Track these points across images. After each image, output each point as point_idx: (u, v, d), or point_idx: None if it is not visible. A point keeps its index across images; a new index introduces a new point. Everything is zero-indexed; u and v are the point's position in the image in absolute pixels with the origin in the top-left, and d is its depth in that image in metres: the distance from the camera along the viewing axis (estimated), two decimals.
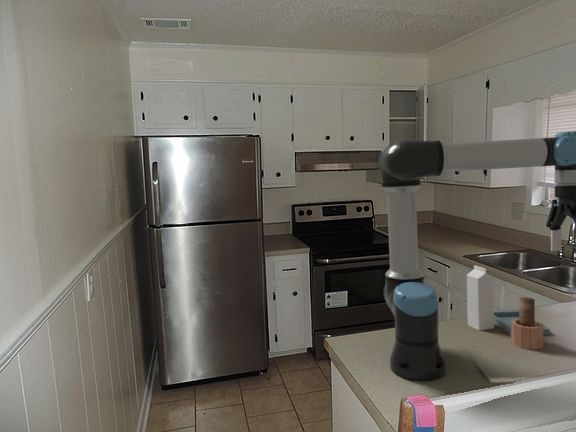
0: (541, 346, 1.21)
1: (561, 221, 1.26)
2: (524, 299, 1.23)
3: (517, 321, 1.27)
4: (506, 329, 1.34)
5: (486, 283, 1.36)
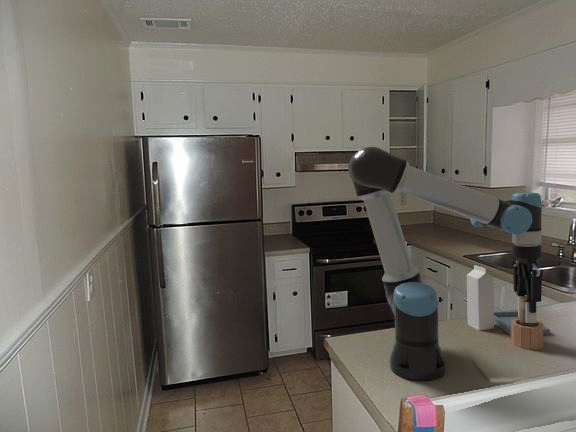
0: (541, 346, 1.21)
1: (525, 284, 1.25)
2: (524, 299, 1.23)
3: (517, 321, 1.27)
4: (506, 329, 1.34)
5: (486, 283, 1.36)
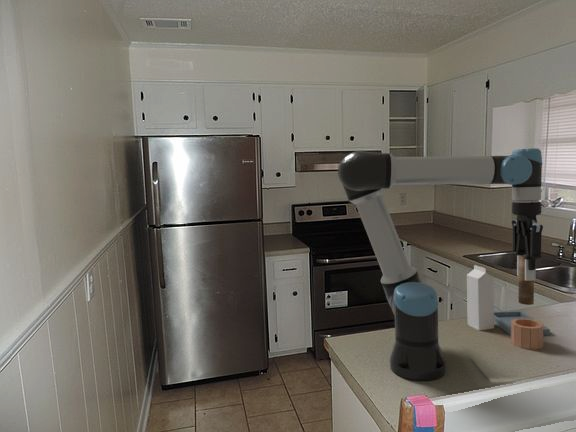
0: (541, 346, 1.21)
1: (524, 242, 1.23)
2: (523, 257, 1.22)
3: (517, 321, 1.27)
4: (506, 329, 1.34)
5: (486, 283, 1.36)
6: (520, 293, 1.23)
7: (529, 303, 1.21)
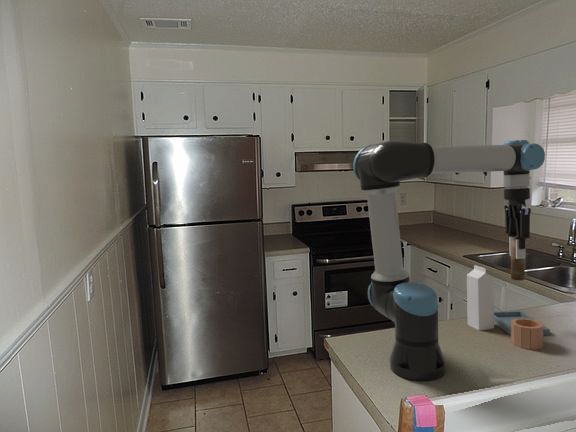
0: (541, 346, 1.21)
1: (516, 225, 1.37)
2: None
3: (517, 321, 1.27)
4: (506, 329, 1.34)
5: (486, 283, 1.36)
6: (512, 270, 1.36)
7: (520, 279, 1.35)
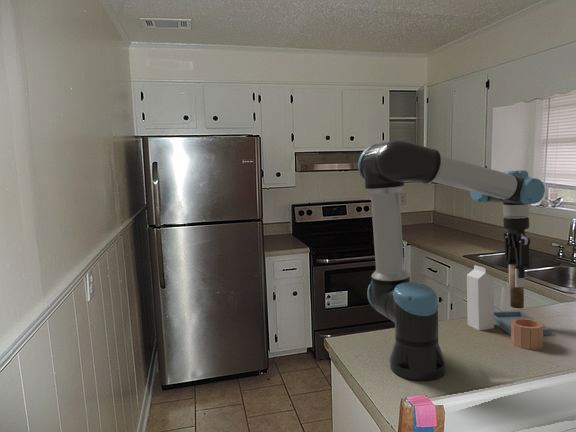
0: (541, 346, 1.21)
1: (515, 253, 1.39)
2: (514, 266, 1.37)
3: (517, 321, 1.27)
4: (506, 329, 1.34)
5: (486, 283, 1.36)
6: (512, 298, 1.38)
7: (520, 307, 1.36)
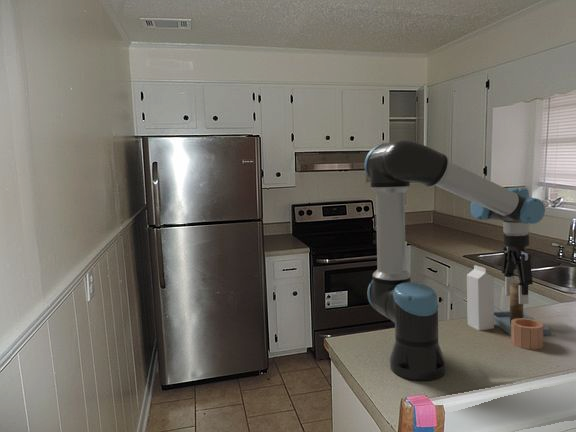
0: (541, 346, 1.21)
1: (512, 267, 1.41)
2: (514, 284, 1.38)
3: (517, 321, 1.27)
4: (506, 329, 1.34)
5: (486, 283, 1.36)
6: (511, 316, 1.38)
7: None
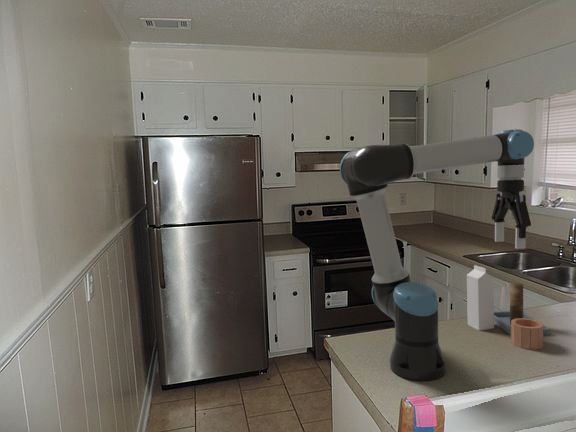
0: (541, 346, 1.21)
1: (504, 214, 1.35)
2: (514, 284, 1.38)
3: (517, 321, 1.27)
4: (506, 329, 1.34)
5: (486, 283, 1.36)
6: (511, 316, 1.38)
7: None
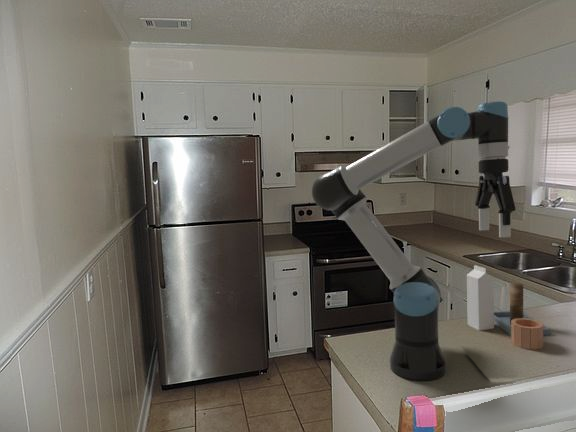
0: (541, 346, 1.21)
1: (488, 199, 1.20)
2: (514, 284, 1.38)
3: (517, 321, 1.27)
4: (506, 329, 1.34)
5: (486, 283, 1.36)
6: (511, 316, 1.38)
7: None
